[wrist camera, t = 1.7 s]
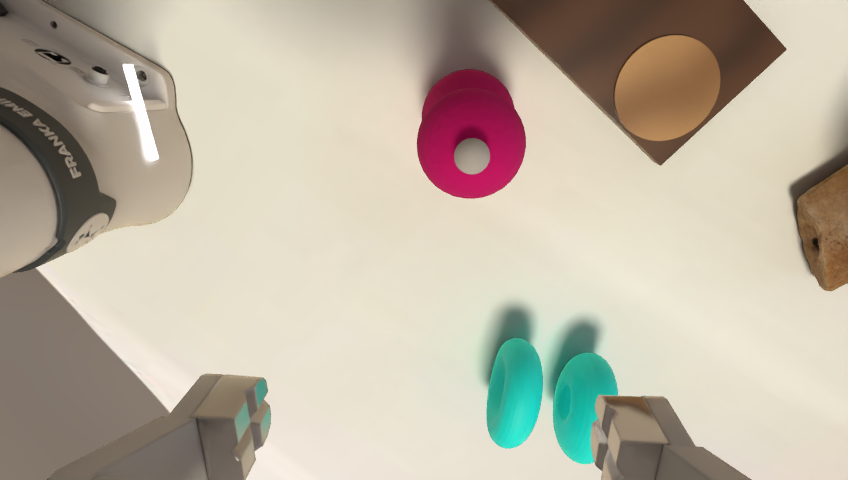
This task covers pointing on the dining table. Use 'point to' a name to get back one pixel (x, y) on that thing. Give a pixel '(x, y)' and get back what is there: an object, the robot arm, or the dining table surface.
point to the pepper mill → (470, 135)
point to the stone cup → (826, 229)
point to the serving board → (651, 59)
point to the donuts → (522, 392)
